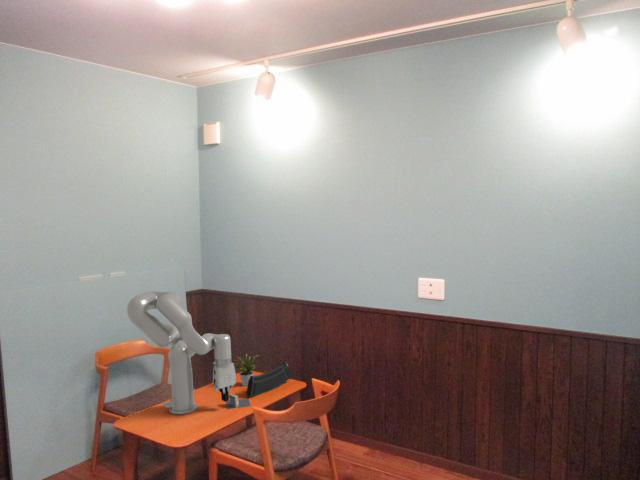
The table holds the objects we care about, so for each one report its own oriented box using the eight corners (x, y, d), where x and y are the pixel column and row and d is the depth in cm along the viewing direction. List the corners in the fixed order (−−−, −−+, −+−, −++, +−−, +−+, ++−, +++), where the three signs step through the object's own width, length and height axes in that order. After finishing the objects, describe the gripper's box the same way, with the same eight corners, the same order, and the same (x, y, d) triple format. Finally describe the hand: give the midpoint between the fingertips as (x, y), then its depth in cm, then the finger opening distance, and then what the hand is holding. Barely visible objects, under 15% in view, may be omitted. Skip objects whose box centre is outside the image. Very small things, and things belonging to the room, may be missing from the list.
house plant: (253, 377, 269) (251, 348, 268) (267, 384, 259) (265, 353, 258) (230, 384, 260) (228, 353, 259) (243, 391, 250) (242, 359, 249)
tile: (235, 407, 228) (235, 397, 228) (229, 404, 232) (228, 394, 231) (238, 406, 229) (238, 396, 229) (232, 403, 233) (232, 393, 232)
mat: (227, 409, 226) (227, 409, 226) (225, 401, 236) (225, 401, 236) (251, 406, 229) (250, 406, 229) (248, 398, 239) (248, 398, 239)
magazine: (246, 382, 236) (285, 350, 258) (241, 381, 238) (281, 349, 260) (254, 412, 241) (293, 378, 263) (250, 410, 243) (288, 377, 265)
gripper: (213, 367, 218) (216, 407, 219) (241, 359, 228) (243, 397, 229) (204, 364, 223) (206, 403, 224) (232, 356, 234) (233, 393, 235)
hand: (225, 400), depth 227 cm, fingers closed
